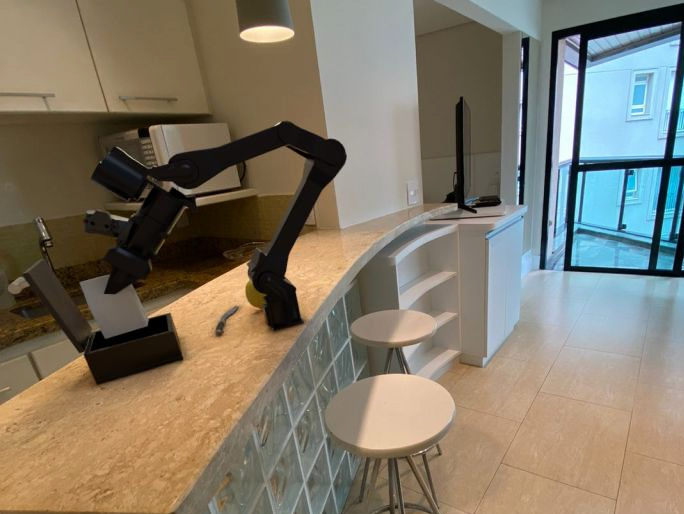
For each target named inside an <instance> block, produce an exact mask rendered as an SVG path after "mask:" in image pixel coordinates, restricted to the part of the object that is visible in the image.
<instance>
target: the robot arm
mask: <svg viewBox="0 0 684 514" xmlns="http://www.w3.org/2000/svg"><path fill="white" fill-rule="evenodd" d="M284 147H285V148H287V149H288V150H290V151H292V152H293V153H295V154H297V155H298V156H300V157H302V158H304V159H305V161H304V164H303V170H302V177H301V180H300V182H299V184H298V186H297V188H296V190H295V192H294V194H293V196H292V198H291V200H290V203H289V204H288V206H287V208H286V209H285V211H284V214H283V216H282V218H281V219H280V222H279V223H278V225H277V228H276V229H275V231H274V233H273V234H272V237H271V238H270V240H269V243H268V244H266V246H265V247H264V248H263V249H262V250H261V248H259V247H258V246H255V248H254V251H253V252H252V253H253V254H252V256H251V258H250V260H249V261H248V262H247V263H246V267H248V269H247V277H248V281H249V280H250V282H251V283H252V285H253V287H254V288H255V289H256V290H257V291H258V292H260V293H262V294H266V296H263V301H264V304H262V313H263V318H264V323H265V324H266V325H267V326H268V327H270V328H271V330H272V331H274V332H276V331H280V330H283V329H287V328H290V327H294V326H297V325H300V324H303V323H305V320H304V318H303V317H302V316H301V315H302V314H301V310H300V306H299V301H298V296H297V287H296V286H295V285H294V284H293V283H292V281H291V280H289V278H287V277H286V273H287V270H288V265H289V257H290V254H291V252H292V250H293V248H294V246H295V244H296V242H297V240H298V238H299V237H300V234H301V233H302V231H303V229H304V226H305V225H306V223H307V221H308V219H309V217H310V215H311V213H312V211H313V209H314V207H315V206H316V203H317V202H318V199H319V197H320V196H321V193H322V192H323V190H325V188H326V187H327V186H328V185H329V184H330V183H331V182H333V180H334V179H335V178H336V177H337V175H338V174H340V171H342V169H343V168H344V166H345V165H346V162H347V159H348V154H347V152H346V148H345V146H344V145H343V143H342V142H340V140H338V139H336V138H332V137H331V138H324V137H322V136H321V135H319V134H316V133H315V132H314V133H313V132H312V131H309V130H307V129H305V128H302V127H300V126H298V125H297V124H295V123H294V122H292V121H289V120H282V121H280V122H278V123H277V124H275V125H273V126H270V127H267V128H265V129H262V130H259V131H256V132H255V133H252V134H249V135H246V136H242V137H241V138H238V139H235V140H233V141H229V142H227V143H224V144H222V145H219V146H215V147H208V148H201V149H194V150H189V151H182V152H178V153H175V154H173V155H171V157H170V158H169V159H168V161H167V163H166V164H162V165H159V166H156V165H152V167H151V168H149V167H147V166H146V165H144V164H142V163H141V162H140V161H138V160H137V159H135V158H133V157H132V156H130V155H129V154H128V153H126V151H124V150H123V149H121V148H120V147H118V146H117V145H116V146H112V148H111V149H110V151H109V152H108V153H107V154H106V155H105V157H104V158H103V159H102V160H101V161H99V162H98V164H97V166H96V167H95V168H94V170H93V172H92V174H91V176H90V182H91V183H94V184H95V185H97V186H99V188H101V189H104V190H105V191H107V192H109V193H111V194H112V195H114V196H116V197H118V198H119V199H120V200H123V201H124V202H126V203H128V202H129V201H131V200H135V201H136V202H138V201H139V200H140V199H141V198H142V196H143V194H144V193H145V191H146V190H147V188H148V186H149V185H150V186H152V187H151V189H150V190H149V191H148V192H147V195H146V196H145V198H144V200H143V201H142V202H141V204H140V205H139V207H138V209H137V211H136V212H135V213H132V214H131V215H130V217H129V218H128V217H123V216H120V215H115V214H112V213H110V212H109V211H103V210H100V209H96V210H93V209H89V210H87V211H85V212H84V218H83V219H82V222H83V228H82V232H84V233H87V234H90V235H93V234H97V235H102V236H107V237H111V238H112V237H113V238H116V239H115V240H114V241H115V244H114V245H113V244H112V245H111V246H110V247H109V248H108V250H107V252H106V253H105V255H104V257H103V258H102V260H103V261H104V262H105V263H107V264H109V265H110V266H111V267H110V268H111V270H110V273H109V274H110V276H109V279H108V282H107V285H106V288H105V291H104V294H117V293H118V292H120V291H121V290H123V289H124V288H126V287H128V286H129V285H131V284H132V285H133V284H134V283H136V282H137V281H138V280H143V281H146V279H147V278H148V276H149V275H150V274H151V272H152V269H153V264H152V261H154V259H155V258H156V257H157V254H158V252H159V251H160V249H161V247H162V246H163V244H164V243H165V241H167V240H168V238H169V237H170V234H171V232H172V230H173V229H174V227H175V225H176V223H177V222H178V221H179V219H180V218H181V216H182V214H183V213H184V211H185V210H186V208H187V209H189V210H191V211H192V212H194V213H198V212H199V208H198V205H197V197H196V195H190V196H188V195H187V194H185V193H183V192H182V191H181V190H179V189H177V188H176V187H174V186H171V187H170V189H169V190H168V189H166V188H165V187H163V186H161V185H159V184H158V183H156V182H155V181H158V182H167V183H173V185H176V186H177V187H178V188H181V189H183V190H194V189H197V188H200V187H201V186H202V185H204V184H205V183H207V182H208V181H211V180H212V179H213V178H215V177H217V176H218V175H219V174H221V173H222V172H224V171H225V170H228V169H229V168H231V167H234V166H236V165H239V164H241V163H244V162H246V161H249V160H252V159H255V158H257V157H260V156H262V155H265V154H267V153H270V152H272V151H275V150H278V149H280V148H284ZM149 177H151V178H152V179H154V180H155V181H153V180H152V179H150V178H149Z"/></svg>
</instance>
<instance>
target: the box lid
mask: <svg viewBox="0 0 684 514" xmlns="http://www.w3.org/2000/svg"><path fill="white" fill-rule="evenodd" d="M28 287H30V288H31V289H32V291H33V293H35V295H36V296H37V297H38V299H39V301H40V302H41V303H42V304H43V306H44V307H45V309H46V310H47V311H48V313H49V315H51V317H52V318H53V319H54V321H55V322H56V324H57V325H58V327H59V329H61V330H62V332H63V333H64V335H65V336H66V337H67V339H68V340H69V341H70V343H71V344H72V345H73V347H74V349H76V351H77V352H78V354H82V353H84V352H85V349H86V346H87V343H88V340H89V337H90V334H91V332H93V328H92V326H91V324H90V323H89V321H88V320H87V319H86V317H85V316H84V315H83V313H82V312H81V310H80V308H79V307H78V305H77V304H76V303H75V301H74V300H73V298H72V297H71V295H70V294H69V293H68V292H67V290H66V288H65V287H64V285H63V284H62V283H61V281H60V280H59V278H58V277H57V275H56V274H55V272H54V271H53V270H52V268H51V267H50V265H49V263H48V262H47V261H46V259H45V258H40V259H39V260H37V261H36V262H35V263H34V264H32V265H31V266H30V267H28V269H26V270H25V271H24V272H22V273H21V276H19V277H18V278H16V279H15V280H14V281H12V282H11V283H10V284H9V285H8V287H7V290H8V292H9V293H10V294H13V295H18V294H20V293H21V292H22V291H23V290H24V289H25V288H28Z"/></svg>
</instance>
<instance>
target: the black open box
mask: <svg viewBox="0 0 684 514" xmlns="http://www.w3.org/2000/svg"><path fill="white" fill-rule="evenodd" d="M148 319H149V321H148V326H146V327H143V328H139V329H136V330H133V331H129V332H126V333H123V334H120V335H116V336H113V337H110V338H106V339H105V337H104V335H103V334H102V332H101V330H100V329H98V330H94V331H91V334H90V337H89V340H88V343H87V346H86V349H85V351H84V352H83V357H84V360H85V362H86V365H87V367H88V369H89V371H90V374H91V375H92V378H93V380H94V382H95V384H96V386H99V385H103V384H106V383H109V382H112V381H116V380H120V379H122V378H123V379H124V378H127V377H130V376H133V375H137V374H140V373H143V372H147V371H150V370H153V369H157V368H160V367H164V366H167V365H171V364H173V363H177V362H181V361H184V355H183V350H182V345H181V340H180V337H179V334H178V331H177V328H176V325H175V321H174V319H173V316H172V313H171V312H168V313H164V314H159V315H154V316H150V317H148Z"/></svg>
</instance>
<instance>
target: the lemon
mask: <svg viewBox="0 0 684 514" xmlns="http://www.w3.org/2000/svg"><path fill="white" fill-rule="evenodd" d="M244 290H245V291H244V293H245V297H246V300H247V302H248V303H249V304H250V306H252V307H253V308H258V309H260V310H262V304H264V301H263V296H266V294H262V293H260V292H258V291H257V290H256V289H255V288H254V287H253V285H252V283H251V282H250V280H249V279H248V281H247V282H246V284H245V289H244ZM262 311H263V310H262Z"/></svg>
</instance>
